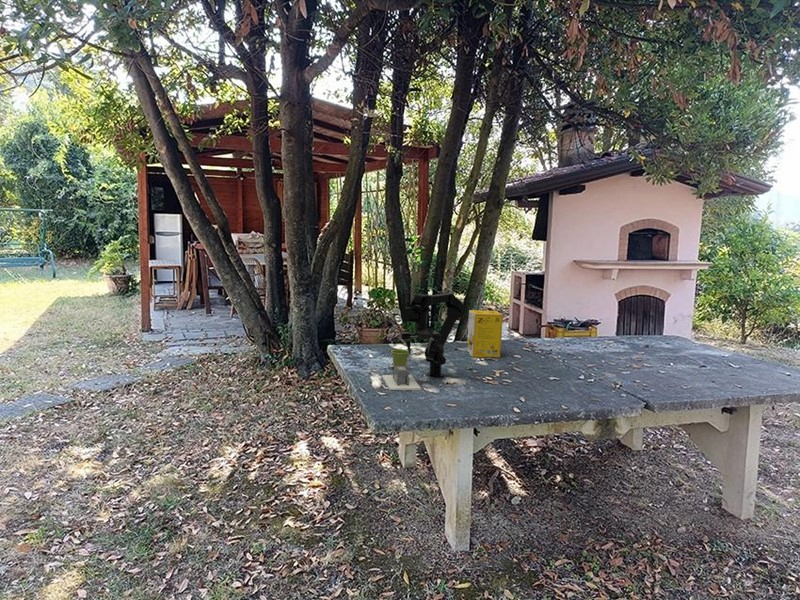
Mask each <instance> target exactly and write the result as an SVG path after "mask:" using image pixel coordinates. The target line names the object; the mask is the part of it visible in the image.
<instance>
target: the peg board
mask: <svg viewBox="0 0 800 600" xmlns="http://www.w3.org/2000/svg"><path fill="white" fill-rule="evenodd" d="M382 378H383V379H382ZM400 378H401V377H398V384H397V383H396V382H395V380H394V369H393V370H392V374H382V375H381V379H382V380H383V382H384V381H385V382H384V384H385V383H386V384H385V386H386V387H387V386H388V387H387V389H388V388H389V389H388V390H389V391H390V390H403V392H404V391H405V390H406V391H407V390H412V391H422V387H421V386H420V385H419V383H418V382H417V381H416V380H415V378H414V377H413V376H412V374H409V377H407V381H406V384H400Z"/></svg>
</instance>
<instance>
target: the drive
mask: <svg viewBox="0 0 800 600" xmlns="http://www.w3.org/2000/svg"><path fill="white" fill-rule="evenodd" d="M393 370H394V380H395V382H396V383H397V384H398V377H401V378H400V384H406V381H407V377H409V375H410V372H409V369H408V368H407V366H406V367H405V366H394V365H393Z"/></svg>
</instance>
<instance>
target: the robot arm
mask: <svg viewBox="0 0 800 600" xmlns="http://www.w3.org/2000/svg"><path fill="white" fill-rule="evenodd" d="M440 303H445V304H444V305H445V307H446V308H447V309H446V318H445V319H444V322H443V323H442V325H441V327H440V329H439V332H437V331H434V329H433V328H428V312H431V311H432V309H430V307H431V306H432V305H433V304H440ZM403 309H404V310H402V312H401V314H400V318H401V320H402V322H403V323H404V324H405V323H406V324H407V323H414V329H413V333H411V332H409V331H400V332H399V339H400V340H401V341H403V342H405V345H406V348H407V351H408V352H409V355H411V350H412V349H411V339H412V338H413V339H415V338H417V339H418V340H421V341H422V340H427V341H428V344H427V345H426V347H425V349H424V350H425V351H424V357H425V361H426V362H428V363H429V372H426V373H427V375H428V376H429V377H431V378H433V377H444V374H443V373H442V365H445V364H446V363H447V359H446V357H445V356H444V353H445V349H444V346H445V344H446V341H447V340H448V338H449V337H450V334H451V332H452V330H453V328H454V325H455V323H456V322H457V321H458V320H460V319H461V318H462V317H463V316H464V314H465V312H466V307H465V304H464V303H463V302H462V301H461V300H460V299H459V298H457V297H456V296H455V294H454V293H451V292H450V293H449V292H444V293H440V294H439V293H438V294H432V295H431V294H430V295H429V294H422V293H416V294H415V295H414V297H413V299H412V301H411V303H410V304H409V306H408V307H404V308H403Z"/></svg>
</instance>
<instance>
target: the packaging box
mask: <svg viewBox="0 0 800 600" xmlns="http://www.w3.org/2000/svg"><path fill="white" fill-rule="evenodd" d="M503 318H504V315H503V314H502V313H500V312H499V311H497V310H481V309H480V310H478V309H469V311H468V326H467V338H466V339H467V340H466V341H467V342H466V352H467V351H468V352H469V353H468V352H467V353H468V354H469V356H472V357H471V358H483V357H500V358H501V348H502V347H501V346H502V336H503V335H502V332H503V322H504V321H503Z"/></svg>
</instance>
